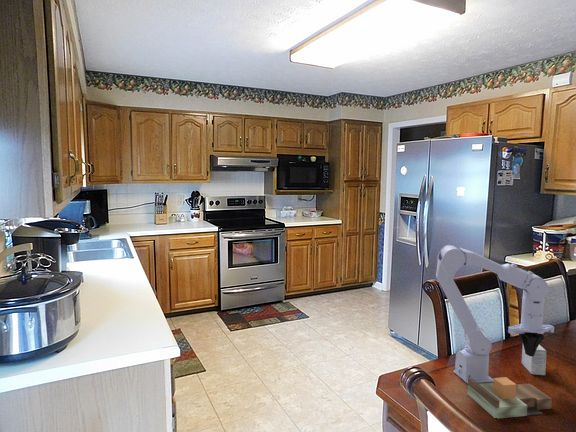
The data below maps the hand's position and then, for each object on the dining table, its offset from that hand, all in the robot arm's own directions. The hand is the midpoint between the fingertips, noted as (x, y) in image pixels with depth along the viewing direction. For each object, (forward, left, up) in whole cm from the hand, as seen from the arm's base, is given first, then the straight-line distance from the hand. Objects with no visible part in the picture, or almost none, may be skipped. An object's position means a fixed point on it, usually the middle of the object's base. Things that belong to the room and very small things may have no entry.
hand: (529, 355), depth 118 cm
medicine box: (+9, +8, -10) cm, 15 cm away
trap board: (-14, -9, -9) cm, 19 cm away
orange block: (-16, -9, -6) cm, 20 cm away
